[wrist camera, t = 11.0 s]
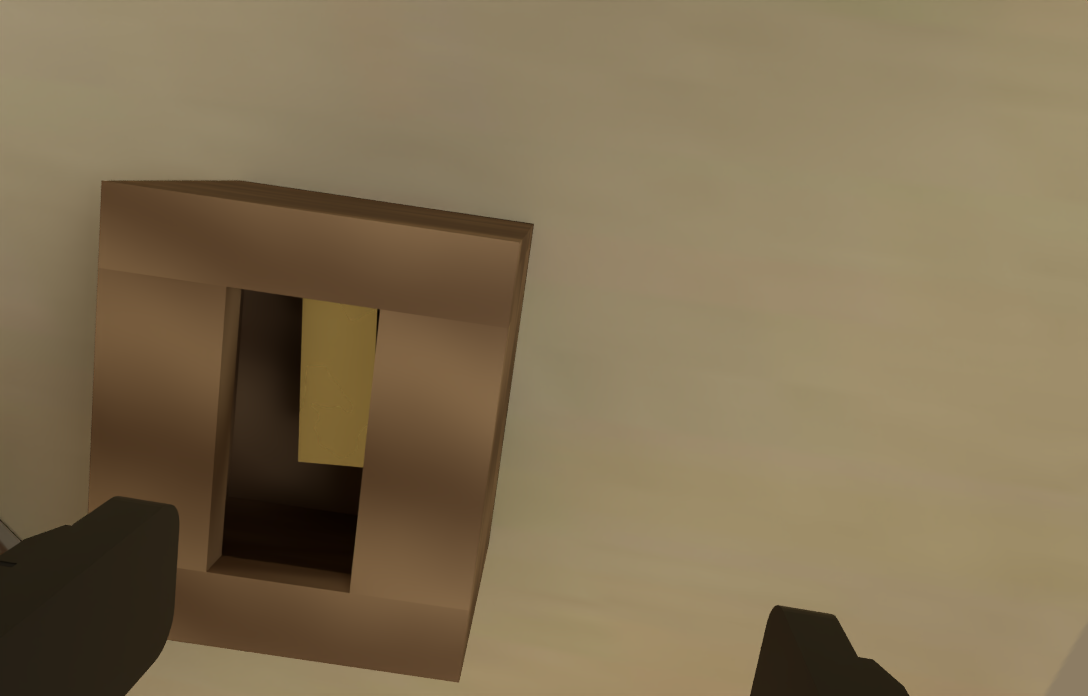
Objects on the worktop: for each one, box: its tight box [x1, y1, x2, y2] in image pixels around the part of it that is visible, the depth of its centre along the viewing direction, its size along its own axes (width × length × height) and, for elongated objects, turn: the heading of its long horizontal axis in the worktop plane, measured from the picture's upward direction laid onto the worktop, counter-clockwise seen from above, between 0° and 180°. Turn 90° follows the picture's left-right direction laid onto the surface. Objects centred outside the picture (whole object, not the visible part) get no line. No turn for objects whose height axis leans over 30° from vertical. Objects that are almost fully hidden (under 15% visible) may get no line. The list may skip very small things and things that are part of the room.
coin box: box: [88, 181, 534, 682], centre depth 31 cm, size 14×12×10 cm
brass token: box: [298, 298, 380, 467], centre depth 32 cm, size 6×2×6 cm, turn 175°
